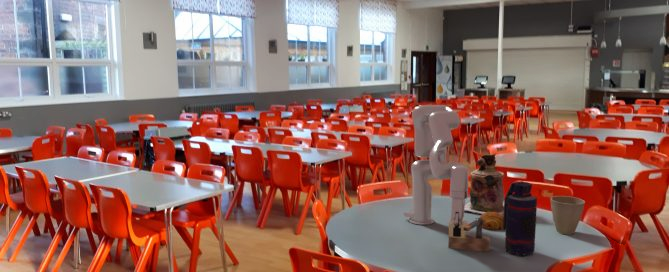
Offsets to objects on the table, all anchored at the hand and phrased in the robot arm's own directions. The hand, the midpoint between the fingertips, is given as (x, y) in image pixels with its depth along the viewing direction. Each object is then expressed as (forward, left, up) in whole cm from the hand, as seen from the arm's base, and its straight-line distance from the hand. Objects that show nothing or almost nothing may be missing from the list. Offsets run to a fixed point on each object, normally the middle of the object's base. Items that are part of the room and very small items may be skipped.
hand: (457, 233), depth 230 cm
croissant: (+14, +37, -6) cm, 40 cm away
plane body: (+5, 0, -6) cm, 8 cm away
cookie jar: (+9, +67, -6) cm, 68 cm away
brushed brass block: (0, 0, -1) cm, 1 cm away
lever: (+7, -6, +6) cm, 11 cm away
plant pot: (+47, +37, -6) cm, 60 cm away
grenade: (+25, +2, -6) cm, 26 cm away
